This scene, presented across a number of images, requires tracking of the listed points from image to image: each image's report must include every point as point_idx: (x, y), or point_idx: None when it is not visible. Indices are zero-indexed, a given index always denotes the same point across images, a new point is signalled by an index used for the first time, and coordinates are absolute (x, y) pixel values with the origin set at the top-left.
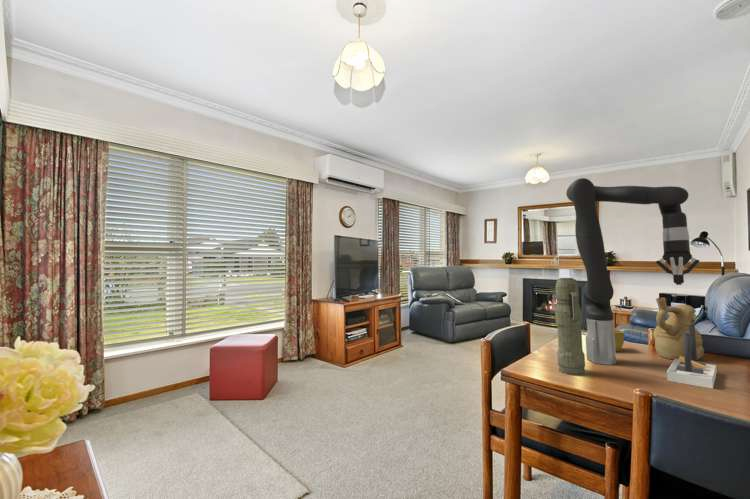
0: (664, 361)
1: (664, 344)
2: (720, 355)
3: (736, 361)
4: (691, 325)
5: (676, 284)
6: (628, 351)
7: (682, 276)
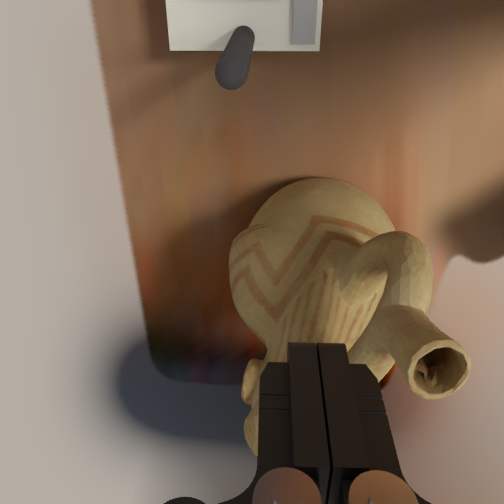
0: (357, 130)
1: (365, 206)
2: (202, 337)
3: (154, 285)
4: (229, 62)
5: (339, 343)
6: (488, 220)
7: (265, 453)
